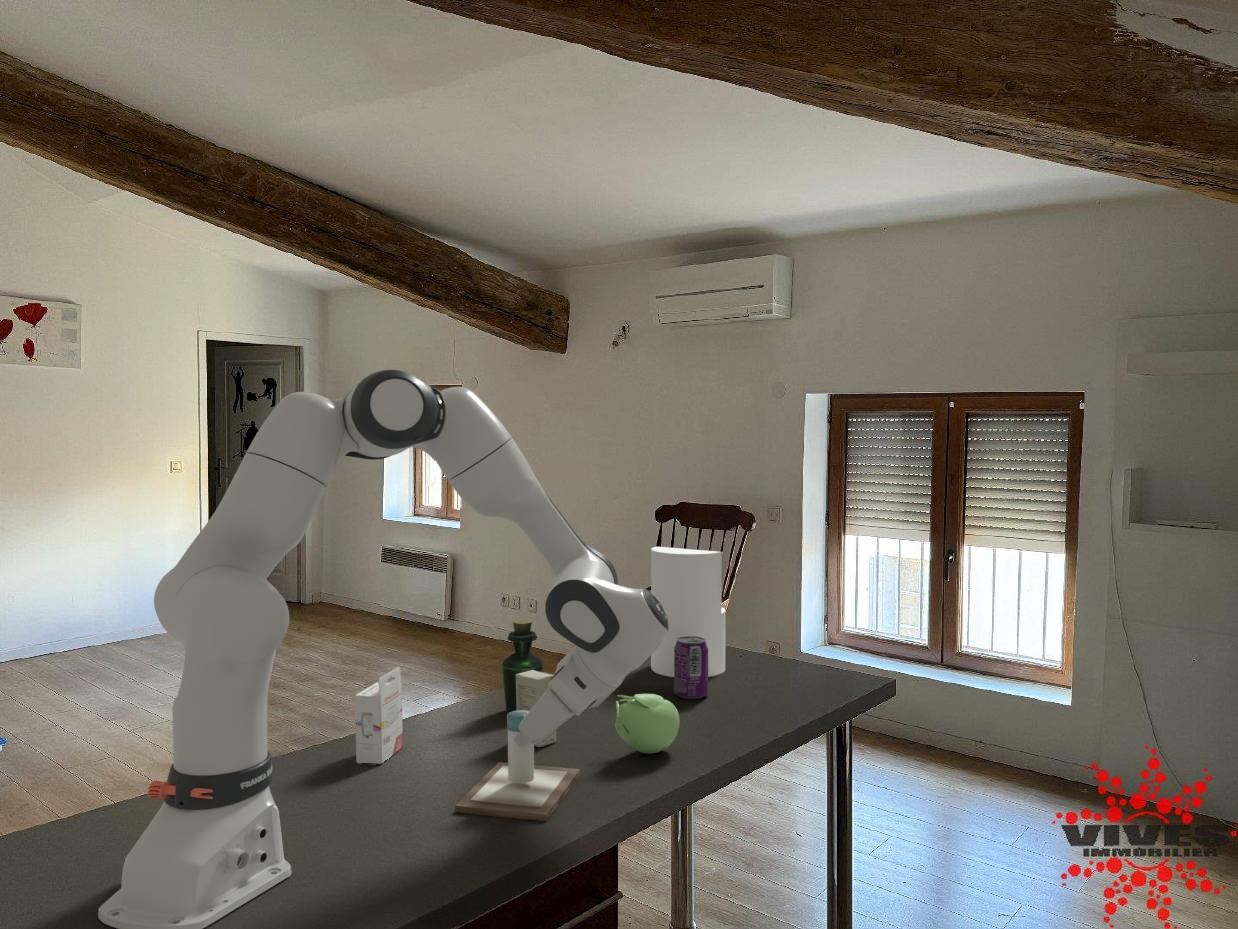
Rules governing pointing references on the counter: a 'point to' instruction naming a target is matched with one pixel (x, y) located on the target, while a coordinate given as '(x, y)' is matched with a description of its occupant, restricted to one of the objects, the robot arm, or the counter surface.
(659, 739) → the green eggplant
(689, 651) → the beverage can
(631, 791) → the counter surface
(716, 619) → the cylinder
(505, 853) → the counter surface
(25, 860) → the counter surface
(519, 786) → the writing board
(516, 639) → the potion bottle
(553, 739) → the skincare box
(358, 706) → the ink cartridge box
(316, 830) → the counter surface
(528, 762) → the white bottle teal cap
